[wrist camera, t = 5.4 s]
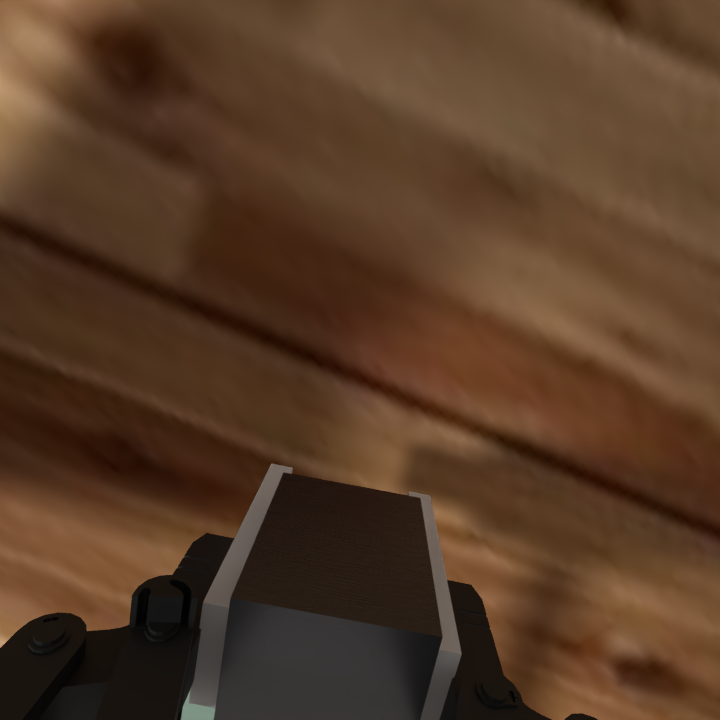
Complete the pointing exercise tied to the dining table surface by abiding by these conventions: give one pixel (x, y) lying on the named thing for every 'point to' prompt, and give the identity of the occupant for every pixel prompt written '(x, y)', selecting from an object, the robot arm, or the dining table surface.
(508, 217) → the dining table surface
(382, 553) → the stand
